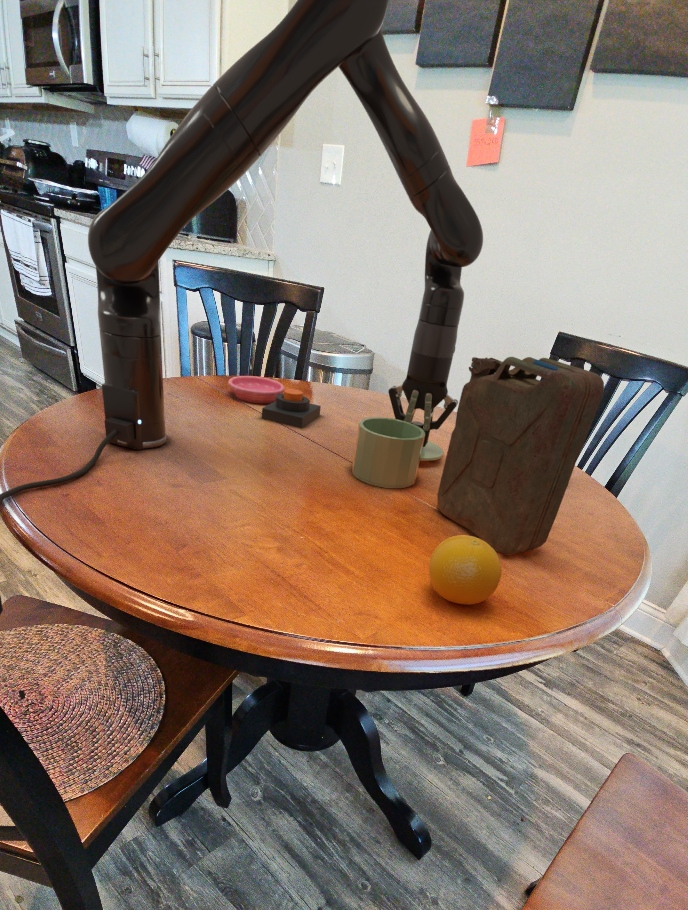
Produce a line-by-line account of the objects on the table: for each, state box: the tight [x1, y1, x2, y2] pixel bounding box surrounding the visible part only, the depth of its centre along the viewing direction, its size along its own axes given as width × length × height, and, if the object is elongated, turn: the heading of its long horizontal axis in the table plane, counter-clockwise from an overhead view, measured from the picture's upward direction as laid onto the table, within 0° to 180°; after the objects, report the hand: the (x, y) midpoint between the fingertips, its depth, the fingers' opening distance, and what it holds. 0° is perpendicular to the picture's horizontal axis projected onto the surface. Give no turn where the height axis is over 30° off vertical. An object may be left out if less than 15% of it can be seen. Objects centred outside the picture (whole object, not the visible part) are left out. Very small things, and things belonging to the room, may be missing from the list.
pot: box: [351, 416, 425, 489], centre depth 103 cm, size 11×11×8 cm
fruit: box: [428, 534, 502, 606], centre depth 72 cm, size 9×8×8 cm
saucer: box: [228, 375, 285, 405], centre depth 133 cm, size 12×12×3 cm
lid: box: [411, 420, 445, 462], centre depth 114 cm, size 12×12×6 cm
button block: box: [261, 392, 322, 429], centre depth 124 cm, size 11×9×4 cm
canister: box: [436, 356, 605, 556], centre depth 85 cm, size 19×8×25 cm, turn 32°
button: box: [283, 388, 304, 402], centre depth 123 cm, size 4×4×2 cm
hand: (413, 446), depth 115 cm, fingers closed on lid, 2 cm apart
